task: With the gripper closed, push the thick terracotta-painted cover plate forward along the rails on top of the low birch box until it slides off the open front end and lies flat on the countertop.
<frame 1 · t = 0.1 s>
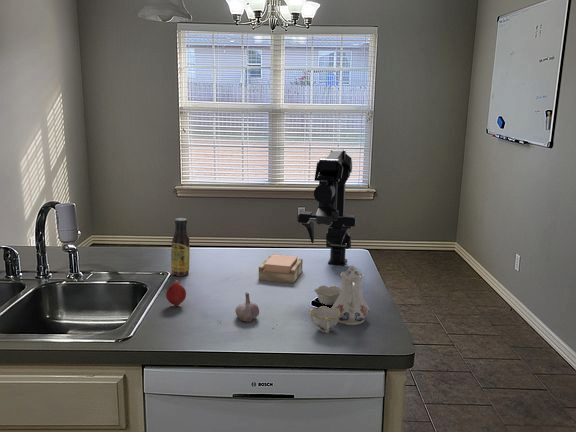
hand: (326, 244, 183), 15 cm above the worktop, fingers open, 9 cm apart
garlic bulb: (246, 319, 159), on the worktop
onion: (176, 306, 167), on the worktop
cover plate: (281, 267, 196), point 3 cm above the worktop, touching birch box
birch box: (281, 275, 197), on the worktop
sauce bottle: (180, 274, 196), on the worktop
chinaware: (339, 319, 160), on the worktop
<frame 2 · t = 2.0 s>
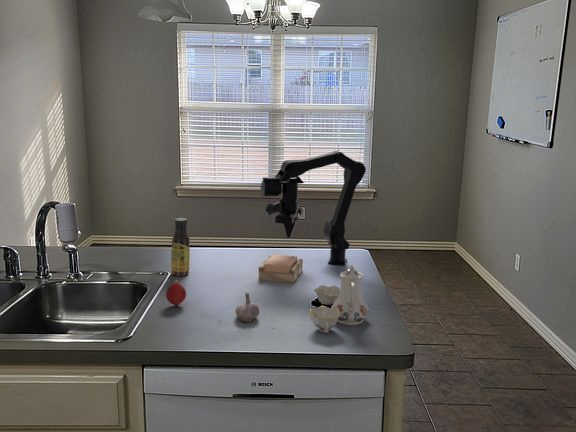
hand: (288, 237, 205), 11 cm above the worktop, fingers closed
nothing on the worktop moved.
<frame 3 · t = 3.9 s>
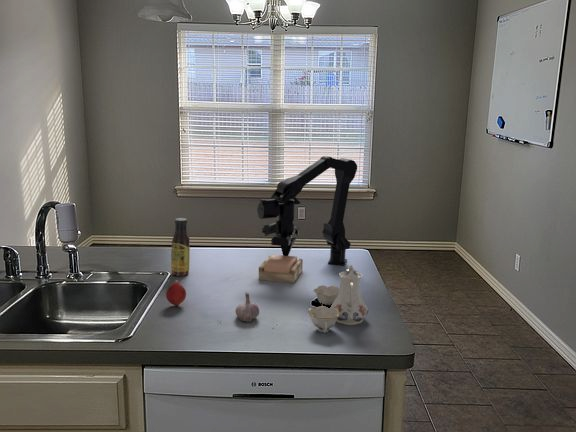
hand: (285, 258, 202), 4 cm above the worktop, fingers closed
cover plate: (281, 267, 196), point 3 cm above the worktop, touching birch box, gripper
everything else where it was.
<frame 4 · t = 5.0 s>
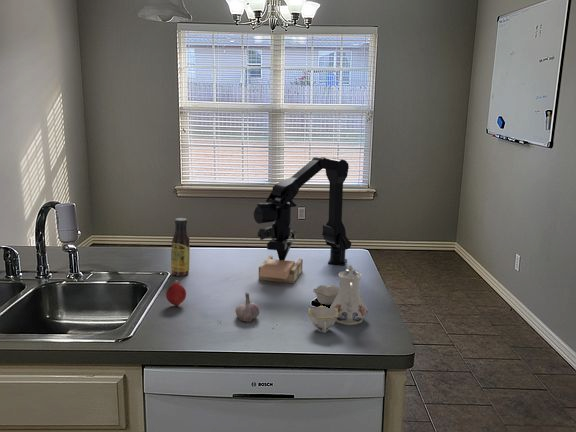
hand: (281, 263, 197), 4 cm above the worktop, fingers closed
cover plate: (277, 272, 190), point 3 cm above the worktop, touching birch box, gripper
everything else where it was.
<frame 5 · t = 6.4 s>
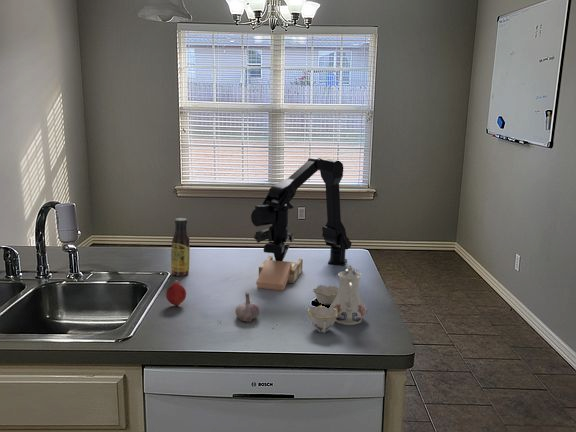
hand: (278, 266, 193), 4 cm above the worktop, fingers closed
cover plate: (274, 277, 187), point 2 cm above the worktop, tilted 21°, touching birch box, gripper
everything else where it was.
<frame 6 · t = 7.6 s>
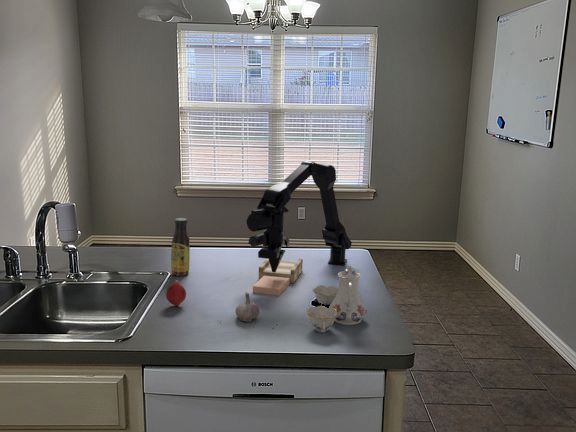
hand: (274, 272, 187), 4 cm above the worktop, fingers closed
cover plate: (271, 289, 184), on the worktop
everything else where it was.
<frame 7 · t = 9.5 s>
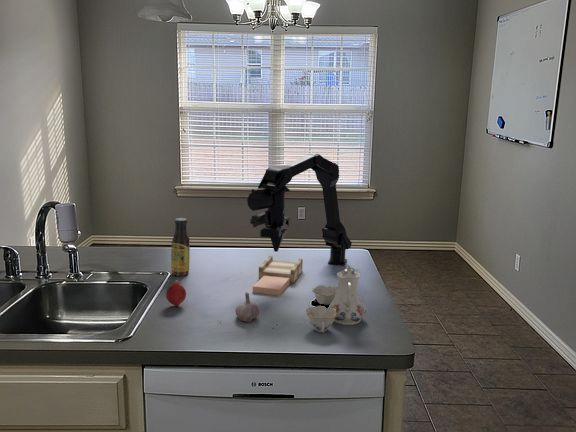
hand: (276, 251, 188), 11 cm above the worktop, fingers closed
nothing on the worktop moved.
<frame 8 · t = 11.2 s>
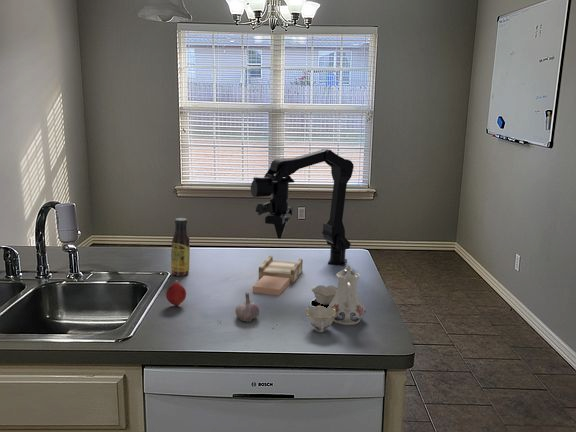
hand: (279, 238, 199), 12 cm above the worktop, fingers closed
at the end: cover plate inside the target area (6.2 cm from its centre), on the worktop; cover plate tilted 0°; cover plate touching worktop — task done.
